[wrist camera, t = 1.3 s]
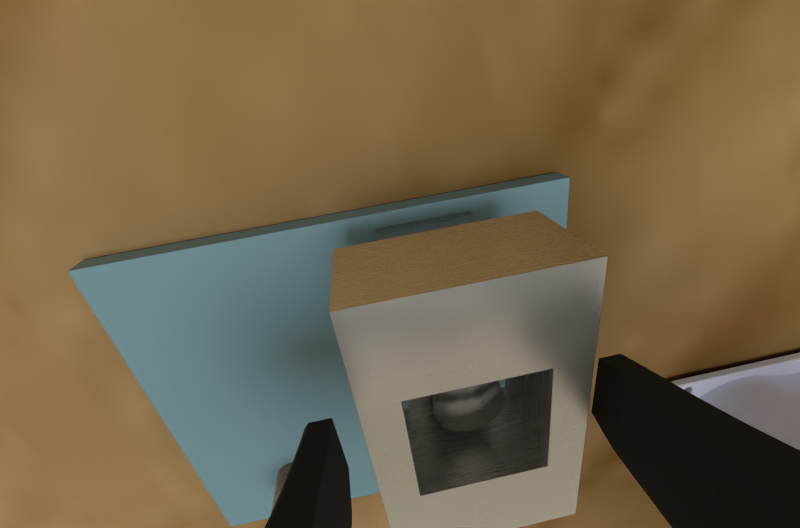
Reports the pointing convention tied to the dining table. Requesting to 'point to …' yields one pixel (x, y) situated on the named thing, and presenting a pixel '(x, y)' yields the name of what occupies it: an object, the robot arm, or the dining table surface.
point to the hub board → (262, 334)
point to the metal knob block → (463, 404)
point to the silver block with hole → (472, 365)
